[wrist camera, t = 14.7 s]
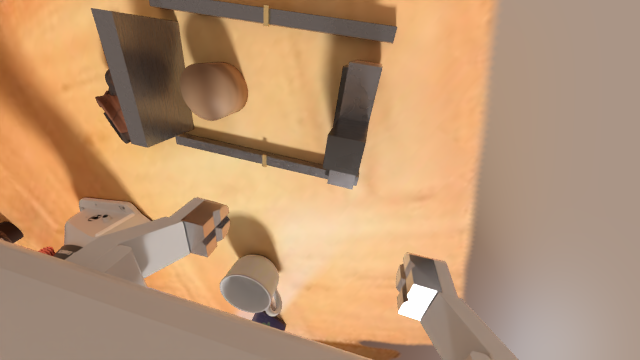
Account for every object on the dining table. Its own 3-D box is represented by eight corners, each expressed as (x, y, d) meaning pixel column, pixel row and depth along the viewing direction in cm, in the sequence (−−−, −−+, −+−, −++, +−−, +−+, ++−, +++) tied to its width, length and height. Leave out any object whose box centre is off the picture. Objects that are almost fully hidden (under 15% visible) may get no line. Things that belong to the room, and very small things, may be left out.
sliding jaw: (334, 155, 35) (309, 212, 22) (352, 59, 28) (330, 63, 16) (358, 160, 34) (345, 221, 22) (381, 63, 28) (383, 72, 15)
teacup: (230, 254, 53) (208, 284, 46) (264, 240, 48) (245, 272, 41) (267, 293, 57) (252, 325, 50) (301, 284, 52) (290, 319, 45)
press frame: (183, 142, 40) (137, 163, 33) (156, -9, 30) (79, -31, 22) (356, 182, 37) (350, 216, 29) (396, 25, 26) (404, 13, 18)
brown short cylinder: (207, 108, 36) (184, 115, 32) (202, 58, 33) (175, 59, 28) (248, 116, 35) (230, 125, 31) (247, 66, 32) (227, 68, 28)
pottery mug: (188, 139, 41) (136, 159, 36) (164, 116, 44) (114, 132, 40) (162, 68, 32) (89, 82, 27) (134, 48, 36) (66, 58, 31)
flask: (255, 310, 62) (234, 355, 53) (259, 306, 60) (238, 351, 51) (283, 327, 63) (267, 374, 54) (288, 324, 61) (273, 371, 52)
